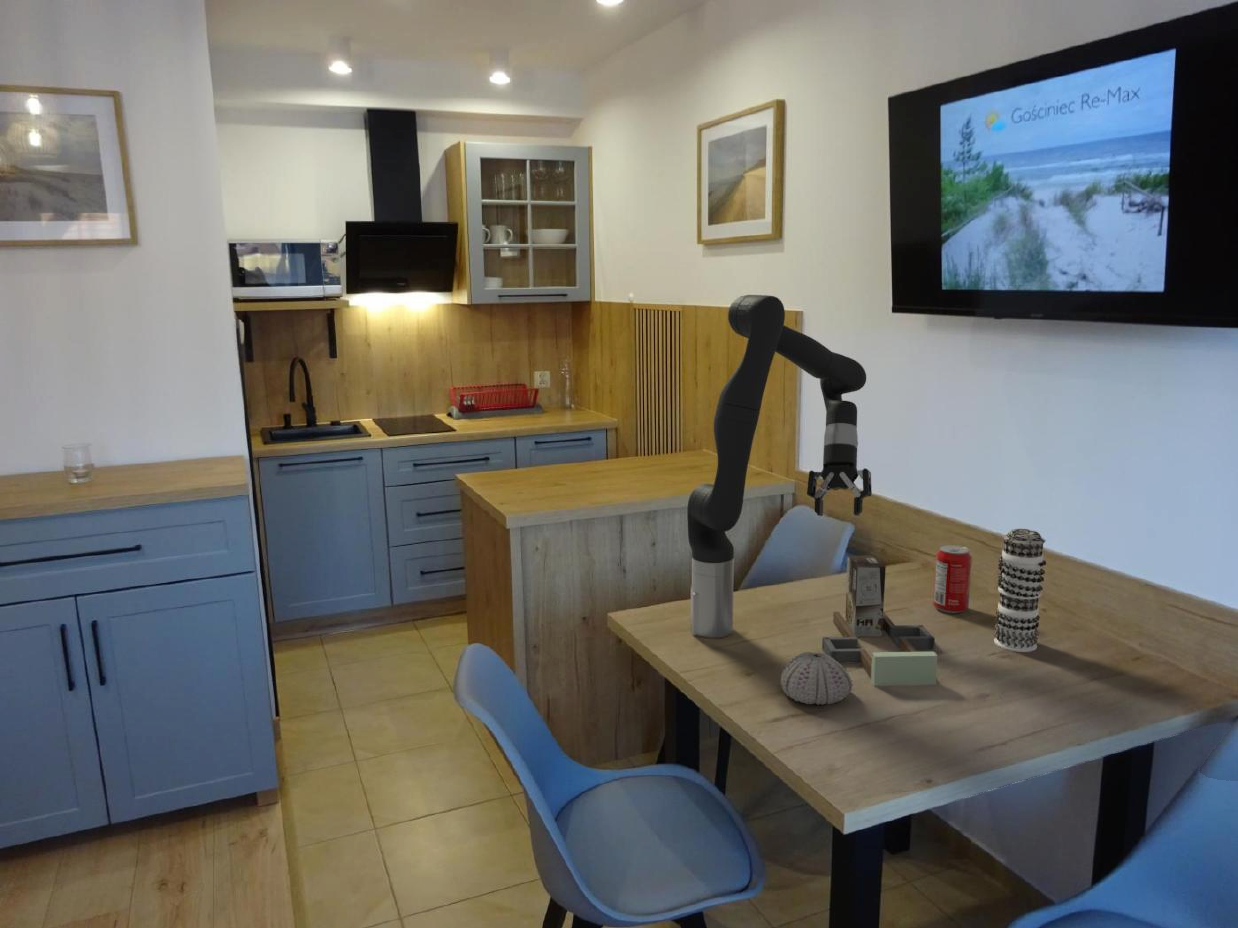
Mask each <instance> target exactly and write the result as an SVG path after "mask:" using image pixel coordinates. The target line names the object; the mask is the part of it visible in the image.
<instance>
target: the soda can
mask: <svg viewBox="0 0 1238 928" xmlns="http://www.w3.org/2000/svg"><path fill="white" fill-rule="evenodd" d="M935 556H936V557H935V569H934V584H933V601H932V602H933V606H934V607H935V608H936V609H938V610H939V611H940V612H943V613H947V614H952V615H953V614H955V615H956V614H961V613H963V612H966V611H967V610H968V609H969V606H970V605H969V604H970V603H969V602H970V590H971V578H972V577H971V576H972V562H973V559H972V555H971V554H970V549H969V548H967V547H965V546H961V545H955V544H952V545H951V544H949V545H948V544H947V545H946V544H945V545H942V546H940V547H939V550H938V552H936V555H935Z"/></svg>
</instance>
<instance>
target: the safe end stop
mask: <svg viewBox="0 0 1238 928" xmlns="http://www.w3.org/2000/svg"><path fill="white" fill-rule="evenodd" d="M871 658H872V667H871V678H870V682H871V684H872V685H873V686H874V687H879V686H881V687H882V686H883V687H884V686H887V687H888V686H936V685H937V673H938V671H937V670H938V655H937V652H935V651H917V652H901V651H889V652H888V651H887V652H885V651H883V652H881V651H879V652H874V651H872V652H871Z"/></svg>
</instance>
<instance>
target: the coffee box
mask: <svg viewBox="0 0 1238 928" xmlns="http://www.w3.org/2000/svg"><path fill="white" fill-rule="evenodd" d="M846 563H847V566H846V593H845V595H846V596H845V597H846V598H845V599H846V600H845V619H844V620H845V621H846V623H847V624H848V626H849V627H850V628H851V630H852V631H853V633H854V634H855V636H856V637H861V638H862V637H872V638H873V637H880V638H881V637H882V636H883V628H882V626H883V612H884V604H885V587H886V568H887V567H886V566H887V565H885V564H884V563H883V562H882V561H881V560H880V559H879V558H878V557H877V556H876V555H873V554H868V555H867V554H865V555H864V554H863V555H861V554H860V555H847V561H846Z"/></svg>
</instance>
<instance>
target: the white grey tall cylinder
mask: <svg viewBox="0 0 1238 928" xmlns="http://www.w3.org/2000/svg"><path fill="white" fill-rule="evenodd" d="M1002 538H1003V540H1004V541H1003V549H1002V550H1001V554H1000V556H999V557H997V558H998V567H997V568H998V570H999V572H998V573H997V577H998V580H997V585H998V587H997V591H998V592H999V602H997V604H998V605H997V610H996V612H995V614H996V617H995V622H996V624H995V625H994V630H995V631H994V634H993V635H994V636H993V637H995V638H994V639H993V642H994V644H995V645H996V646H998V648H1001V649H1004V650H1006V651H1011V652H1015V653H1016V652H1017V653H1030V652H1034V651H1035V650H1037V648H1038V645H1037V643H1038V639H1039V638H1038V636H1039V630H1038V629H1037V628H1039V626H1040V623H1039V621H1040V619H1041V618H1040V615H1039V614H1040V613H1039V612H1040V608H1039V603H1040V602H1039V598H1040V597H1041V596H1042V595H1043V594H1042V591H1043V590H1044V587H1043V586H1042V585H1040V583H1043V582H1044V581H1045V578H1044V577H1043V575H1045V574H1046V571H1045V570H1044V569H1043V568H1042V567H1043V566H1046V565H1047V561H1046V560H1045V559H1044V553H1043V552H1044V543H1046V538H1043V537H1042V536H1041V534H1040V533H1039V532H1038V531H1035V530H1032V529H1027V528H1014V529H1011V530H1009V531H1008V533H1007V534H1005V535H1003V536H1002Z"/></svg>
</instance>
